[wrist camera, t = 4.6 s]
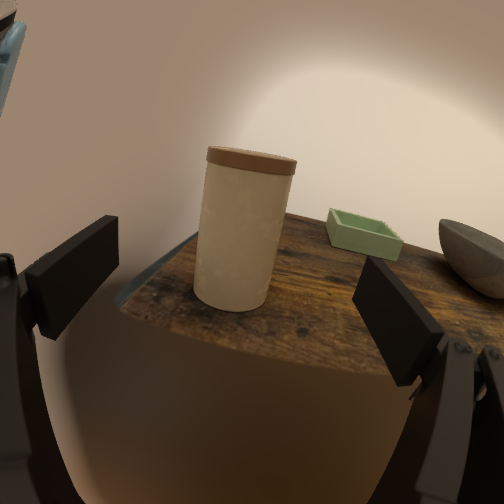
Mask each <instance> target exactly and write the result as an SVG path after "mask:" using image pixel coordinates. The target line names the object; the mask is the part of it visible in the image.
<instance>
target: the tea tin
mask: <svg viewBox="0 0 504 504" xmlns="http://www.w3.org/2000/svg"><path fill="white" fill-rule="evenodd" d="M206 160H207V161H208V162H207V168H206V176H205V183H204V191H203V199H202V207H201V215H200V225H199V233H198V243H197V253H196V264H195V276H194V292H195V294H196V296H197V297H198V298H199V299H200V300H201V301H203V302H204V303H206V304H207V305H209V306H211V307H214V308H217V309H220V310H224V311H231V312H243V311H250V310H253V309H256V308H258V307H260V306H261V305H262V304H263V303H264V302H265V300H266V297H267V293H268V288H269V284H270V279H271V275H272V271H273V266H274V262H275V257H276V253H277V248H278V243H279V239H280V234H281V230H282V225H283V220H284V216H285V211H286V206H287V201H288V196H289V192H290V186H291V181H292V177H293V175H294V174H295V169H296V164H297V161H296V160H293V159H289V158H285V157H281V156H277V155H272V154H267V153H261V152H256V151H249V150H242V149H236V148H227V147H216V146H209V147H208V152H207V159H206Z"/></svg>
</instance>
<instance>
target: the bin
mask: <svg viewBox="0 0 504 504" xmlns="http://www.w3.org/2000/svg"><path fill="white" fill-rule="evenodd" d="M326 229H327V232H328V235H329V239H330V242H331V245H332V246H333V247H337V248H342V249H346V250H350V251H354V252H358V253H363V254H367V255H371V256H375V257H379V258H383V259H387V260H391V261H395V262H397V260H398V257H399V254H400V251H401V248H402V245H403V242H404V241H403V240H402V239H401V238H400V237H399V236H398V235H397V234H396V233H395V232H394V231H393V230H392V229H391V228H390V227H389V226H388V225H386V223H385V222H382V221H378V220H374V219H371V218H367V217H363V216H359V215H356V214H352V213H348V212H344V211H340V210H336V209H332V208H330V210H329V214H328V218H327V222H326Z"/></svg>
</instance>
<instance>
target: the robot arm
mask: <svg viewBox="0 0 504 504" xmlns="http://www.w3.org/2000/svg"><path fill="white" fill-rule="evenodd" d="M17 6H18V3H17V2H16V0H0V116H1V113H2V110H3V107H4V104H5V100H6V97H7V93H8V90H9V87H10V83H11V80H12V76H13V73H14V69H15V66H16V63H17V60H18V56H19V53H20V50H21V47H22V43H23V40H24V36H25V31H26V23H24V22H21V21H16V22H15V23H14V18H15V14H16V10H17ZM118 253H119V250H118V217H117V216H109V215H105V216H103V217H102V218H100V219H99V220H97V221H95V222H94V223H92V224H91V225H89V226H88V227H86V228H85V229H83V230H82V231H80V232H79V233H77V234H75V235H74V236H72V237H71V238H70V239H68V240H67V241H65V242H64V243H62V244H61V245H60V246H58V247H57V248H55V249H54V250H52V251H51V252H49V253H46V254H45V255H43V256H42V257H40V258H39V260H36V261H35V262H34V263H33V264H31V265H30V266H28V267H27V268H26V269H25V270H23V271H22V272H21V273H19V274H18V275H17V273H16V268H15V263H14V258H13V255H11V254H8V253H1V254H0V504H85V503H84V501H83V500H82V499H81V497H80V496H79V495H78V493H77V491H76V489H75V487H74V485H73V483H72V481H71V478H70V476H69V474H68V471H67V469H66V466H65V464H64V461H63V459H62V456H61V453H60V450H59V447H58V445H57V441H56V438H55V435H54V432H53V429H52V426H51V422H50V418H49V414H48V411H47V406H46V402H45V398H44V393H43V389H42V383H41V379H40V373H39V367H38V360H37V352H36V344H35V336H34V333H33V330H32V328H33V327H34V326H35V325H36V324H38V327H39V330H40V333H41V335H42V336H44V337H47V338H49V339H52V340H54V341H56V339H57V338H58V337H59V335H60V334H61V333H62V332H63V330H64V329H65V328H66V326H67V325H68V324H69V323H70V321H71V320H72V319H73V318H74V316H75V315H76V314H77V313H78V311H79V310H80V309H81V308H82V307H83V305H84V304H85V303H86V302H87V301H88V299H89V298H90V297H91V296H92V295H93V294H94V292H95V291H96V290H97V289H98V288H99V286H100V285H101V284H102V283H103V282H104V281H105V280H106V279H107V277H108V276H109V275H110V274H111V273H112V272H113V271H114V270H115V269H116V268H117V267H118V265H119V254H118ZM352 301H353V302H354V304H355V306H356V308H357V310H358V311H359V313H360V315H361V317H362V319H363V320H364V322H365V324H366V326H367V328H368V330H369V332H370V334H371V335H372V337H373V339H374V341H375V343H376V345H377V347H378V349H379V351H380V353H381V355H382V357H383V359H384V361H385V363H386V365H387V367H388V369H389V371H390V373H391V375H392V377H393V379H394V381H395V383H396V385H397V386H398V387H400V386H409V385H412V384H413V382H414V381H415V379H416V378H417V377H418V375H420V377H421V379H422V382H421V383H420V385H419V386H418V387H417V388H416V390H415V391H414V392H413V394H412V395H411V396H410V398H409V400H411V399H412V398H413V397H414V400H413V403H412V406H411V409H410V413H409V415H408V418H407V421H406V423H405V426H404V429H403V431H402V434H401V436H400V438H399V441H398V443H397V446H396V448H395V450H394V453H393V455H392V457H391V459H390V462H389V463H388V465H387V468H386V470H385V472H384V474H383V475H382V477H381V479H380V481H379V483H378V485H377V487H376V489H375V491H374V492H373V494H372V496H371V498H370V500H369V501H368V503H367V504H504V356H503V355H502V353H501V352H500V350H499V349H498V348H496V347H495V346H494V347H493V346H491V345H485V346H484V348H483V350H482V351H481V353H480V354H477V353H473V349H472V347H471V346H470V345H469V344H468V343H467V342H466V341H464V340H462V339H460V338H458V337H451V338H450V337H449V336H448V335H447V333H446V332H445V331H444V330H443V328H442V327H441V326H440V325H439V323H438V322H436V320H435V319H434V317H432V315H431V314H430V313H429V311H428V310H427V309H426V308H424V306H423V305H422V304H421V303H420V302H419V301H418V299H417V298H416V297H415V296H414V295H413V294H412V292H411V291H410V290H409V289H408V288H407V287H406V286H405V285H404V284H403V282H402V281H401V280H400V279H399V278H398V277H397V276H396V275H395V274H394V273H393V271H392V270H391V269H390V268H389V267H388V266H387V265H386V264H385V263H384V262H383V261H382V260H381V259H380V258H379V257H374V256H367V259H366V262H365V265H364V267H363V270H362V273H361V276H360V279H359V282H358V284H357V287H356V290H355V293H354V295H353V298H352ZM485 388H487V391H486V394H485V396H484V397H483V398H482V399H481V400H479V395H480V394H481V392H482V391H483V390H484V389H485Z"/></svg>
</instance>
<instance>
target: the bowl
mask: <svg viewBox="0 0 504 504" xmlns="http://www.w3.org/2000/svg"><path fill="white" fill-rule="evenodd" d="M439 238H440V244H441V248H442V251H443V253H444V256H445V258H446V260H447V261H448V263H449V264H450V266H451V267H452V269H453V270H454V271H455V272H456V273H457V274H458V275H459V276H460V277H461V278H462V279H463V280H464V281H465V282H466V283H468V284H469V285H470V286H471V287H472V288H474V289H475V290H477V291H478V292H480V293H482V294H484V295H486V296H488V297H491V298H497V299H500V298H504V243H503V242H502V241H500V240H498V239H497V238H495V237H493V236H491V235H488V234H486V233H484V232H482V231H479V230H477V229H475V228H473V227H470V226H468V225H465V224H462V223H459V222H455V221H452V220H447V219H441V220H440V222H439Z"/></svg>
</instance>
